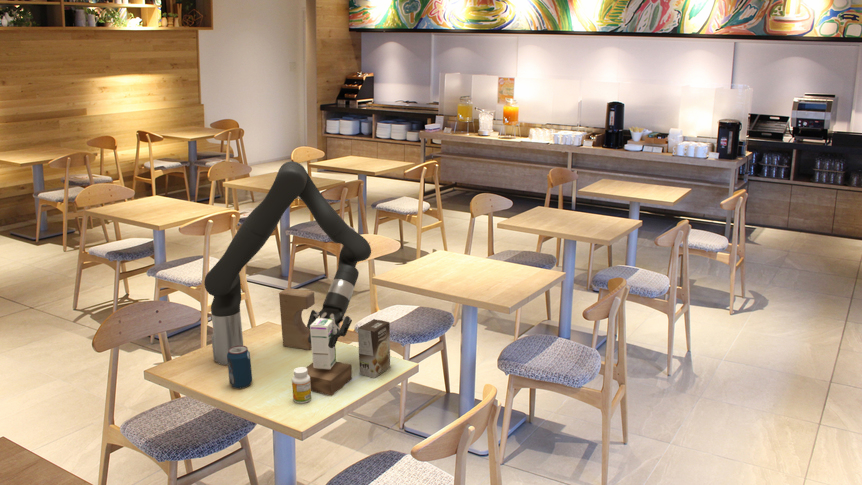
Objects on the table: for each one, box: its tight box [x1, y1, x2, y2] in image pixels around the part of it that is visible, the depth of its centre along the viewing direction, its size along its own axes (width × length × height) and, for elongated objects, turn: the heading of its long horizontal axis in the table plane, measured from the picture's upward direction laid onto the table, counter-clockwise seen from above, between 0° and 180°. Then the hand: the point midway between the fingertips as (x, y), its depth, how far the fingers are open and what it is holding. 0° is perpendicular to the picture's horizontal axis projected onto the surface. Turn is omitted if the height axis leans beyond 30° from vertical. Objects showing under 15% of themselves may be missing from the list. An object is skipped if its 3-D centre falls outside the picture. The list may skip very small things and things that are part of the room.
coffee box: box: [357, 318, 391, 379], centre depth 232 cm, size 9×6×16 cm
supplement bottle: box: [291, 366, 312, 404], centre depth 215 cm, size 5×5×10 cm
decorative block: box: [278, 287, 316, 351], centre depth 251 cm, size 11×6×20 cm, turn 68°
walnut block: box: [305, 361, 353, 397], centre depth 225 cm, size 12×12×5 cm
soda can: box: [227, 345, 253, 389], centre depth 224 cm, size 7×7×12 cm
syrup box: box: [310, 317, 337, 369], centre depth 222 cm, size 6×6×14 cm
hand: (320, 345), depth 221 cm, fingers closed on syrup box, 6 cm apart
